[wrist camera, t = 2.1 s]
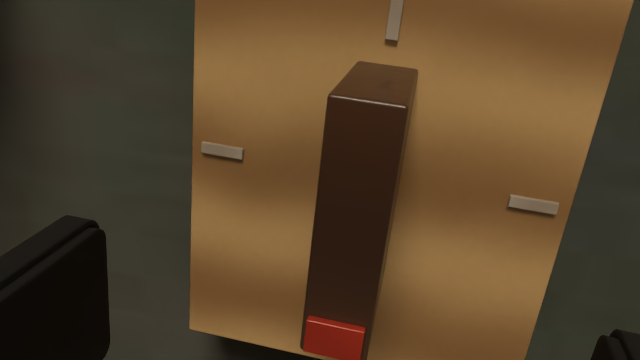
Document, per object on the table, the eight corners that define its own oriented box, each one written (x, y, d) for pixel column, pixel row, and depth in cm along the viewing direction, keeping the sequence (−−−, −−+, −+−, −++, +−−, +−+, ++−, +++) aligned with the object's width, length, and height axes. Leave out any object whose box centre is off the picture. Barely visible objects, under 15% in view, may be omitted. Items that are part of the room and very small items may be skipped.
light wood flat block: (233, -100, 18) (193, -111, 16) (620, -60, 17) (656, -64, 14) (217, 288, 24) (186, 332, 21) (503, 349, 22) (512, 406, 19)
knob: (357, 60, 16) (324, 96, 12) (419, 68, 16) (408, 108, 12) (330, 266, 19) (296, 356, 15) (383, 277, 19) (363, 372, 14)
